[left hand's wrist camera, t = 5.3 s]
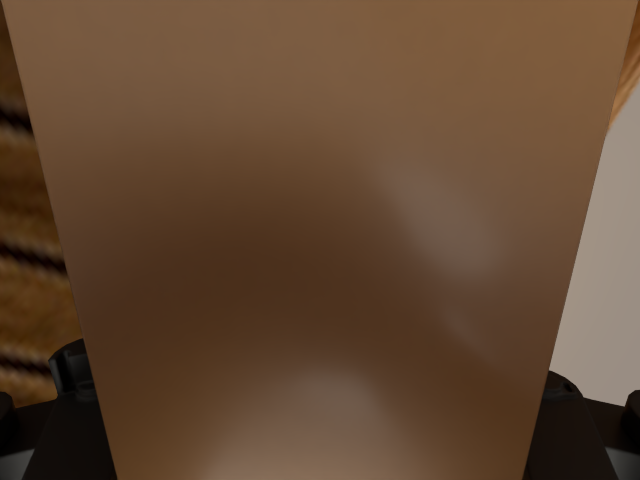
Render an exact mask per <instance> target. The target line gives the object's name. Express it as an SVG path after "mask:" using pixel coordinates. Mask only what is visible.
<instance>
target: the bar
mask: <svg viewBox="0 0 640 480" xmlns="http://www.w3.org/2000/svg"><path fill="white" fill-rule="evenodd" d="M1 1H2V5H3V9H4V13H5V17H6V22H7V26H8V30H9V34H10V38H11V42H12V46H13V50H14V55H15V59H16V63H17V67H18V71H19V75H20V79H21V83H22V88H23V92H24V96H25V100H26V104H27V108H28V112H29V116H30V121H31V125H32V129H33V133H34V137H35V141H36V145H37V149H38V154H39V158H40V162H41V166H42V170H43V174H44V178H45V182H46V187H47V191H48V195H49V199H50V203H51V207H52V211H53V215H54V220H55V224H56V228H57V232H58V236H59V240H60V244H61V248H62V253H63V257H64V261H65V265H66V269H67V273H68V277H69V281H70V286H71V290H72V294H73V298H74V302H75V306H76V310H77V314H78V319H79V323H80V327H81V331H82V335H83V339H84V343H85V347H86V352H87V356H88V360H89V364H90V368H91V372H92V376H93V380H94V385H95V389H96V393H97V397H98V401H99V405H100V409H101V413H102V418H103V422H104V426H105V430H106V434H107V438H108V442H109V446H110V451H111V455H112V459H113V463H114V467H115V471H116V475H117V479H118V480H522V478H523V474H524V470H525V466H526V462H527V457H528V453H529V449H530V445H531V441H532V437H533V433H534V429H535V424H536V420H537V416H538V412H539V408H540V404H541V400H542V396H543V391H544V387H545V383H546V379H547V375H548V371H549V367H550V362H551V358H552V354H553V350H554V346H555V342H556V338H557V334H558V330H559V325H560V321H561V317H562V313H563V309H564V305H565V301H566V296H567V292H568V288H569V284H570V280H571V276H572V272H573V268H574V263H575V259H576V255H577V251H578V247H579V243H580V239H581V235H582V231H583V226H584V222H585V218H586V214H587V210H588V206H589V202H590V198H591V193H592V189H593V185H594V181H595V177H596V173H597V169H598V165H599V160H600V156H601V152H602V148H603V144H604V140H605V136H606V132H607V127H608V123H609V119H610V115H611V111H612V107H613V103H614V99H615V94H616V90H617V86H618V82H619V78H620V74H621V70H622V66H623V61H624V57H625V53H626V49H627V45H628V41H629V37H630V33H631V28H632V24H633V20H634V16H635V12H636V8H637V4H638V0H1Z"/></svg>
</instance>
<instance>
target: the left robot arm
mask: <svg viewBox="0 0 640 480" xmlns="http://www.w3.org/2000/svg"><path fill="white" fill-rule="evenodd" d="M48 361H49V365H50V368H51V372H52V376H53V379H54V383H55V386H56V390H57V393H58V396H57V398H56V399H55V400H51V401H48V402H43V403H38V404H34V405H29V406H24V407H20V408H15V406H14V403H13V400H12V397H11V396H10V395H8V394H7V393H6V392H0V480H118V479H117V475H116V471H115V467H114V463H113V459H112V455H111V451H110V446H109V442H108V438H107V434H106V430H105V426H104V422H103V418H102V413H101V409H100V405H99V401H98V397H97V393H96V389H95V385H94V380H93V376H92V372H91V368H90V364H89V360H88V356H87V352H86V347H85V343H84V339H83V338H82V339H79V340H76V341H74V342H72V343H69V344H67V345H65V346H64V347H62V348H61V349H59V350H58V351H56V352H55V353H54V354H53V355H52V356H51V358H50V359H49V360H48ZM522 480H640V390H635V391H634V392H632V393H631V394H629V396H628V399H627V402H626V405H625V407H624V406H619V405H614V404H610V403H605V402H600V401H596V400H591V399H588V398H584V397H583V395H582V394H581V392H580V391H579V389H578V388H577V387H576V385H574V384H573V383H572V382H570V381H569V380H568V379H566V378H565V377H563V376H561V375H559V374H557V373H555V372H553V371H548V375H547V379H546V383H545V387H544V391H543V396H542V400H541V404H540V408H539V412H538V416H537V420H536V424H535V429H534V433H533V437H532V441H531V445H530V449H529V453H528V457H527V462H526V466H525V470H524V474H523V478H522Z"/></svg>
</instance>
